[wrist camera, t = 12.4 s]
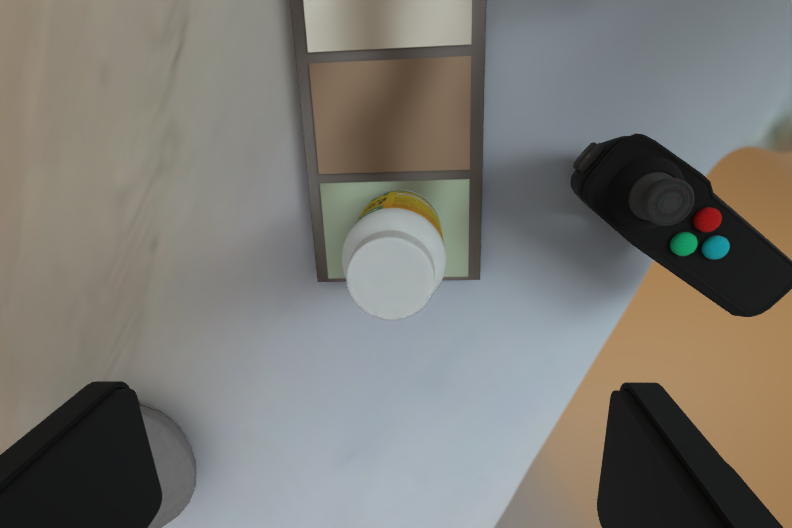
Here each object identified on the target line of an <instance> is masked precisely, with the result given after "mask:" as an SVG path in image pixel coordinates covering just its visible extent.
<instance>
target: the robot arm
mask: <svg viewBox="0 0 792 528" xmlns="http://www.w3.org/2000/svg"><path fill="white" fill-rule="evenodd" d="M161 503H162V489H161V485H160V482H159V478H158V474H157V470H156V467H155V463H154V459H153V455H152V451H151V448H150V444H149V440H148V436H147V432H146V429H145V425H144V421H143V417H142V413H141V410H140V406H139V402H138V398H137V395H136V393H135V391H134V390H132V389H130V388H129V386H128V385H127V384H126V383H124V382H92V383H90V384H88V385H87V386H85V387H84V388H83V389H82V390H80V391H79V392H78V393H77V394H75V395H74V396H73V397H72V398H70V399H69V400H68V401H67V402H66V403H64V404H63V405H62V406H61V407H59V408H58V409H57V410H56V411H54V412H53V413H52V414H51V415H49V416H48V417H47V418H46V419H44V420H43V421H42V422H41V423H40V424H38V425H37V426H36V427H35V428H33V429H32V430H31V431H30V432H28V433H27V434H26V435H25V436H23V437H22V438H21V439H20V440H18V441H17V442H16V443H15V444H14V445H12V446H11V447H10V448H9V449H7V450H6V451H5V452H4V453H2V454H1V455H0V528H148V527H149V525H150V524H151V522H152V521H153V519H154V518H155V516H156V515H157V513H158V511H159V509H160V507H161ZM597 511H598V517H599V520H600V524H601V526H602V528H783V527H782V526H781V524H780V523H779V522H778V521H777V520H776V519H775V517H774V516H773V515H772V514H771V513H770V512H769V510H768V509H767V508H766V507H765V506H764V504H763V503H762V502H761V501H760V500H759V498H758V497H757V496H756V495H755V494H754V493H753V492H752V490H751V489H750V488H749V487H748V486H747V484H746V483H745V482H744V481H743V480H742V478H741V477H740V476H739V475H738V474H737V473H736V471H735V470H734V469H733V468H732V467H730V465H729V464H727V463H726V462H725V461H724V460H723V458H722V457H721V456H720V455H719V454H718V452H717V451H716V450H715V449H714V448H713V447H712V445H711V444H710V443H709V442H708V441H707V439H706V438H705V437H704V436H703V435H702V434H701V432H700V431H699V430H698V429H697V428H696V426H695V425H694V424H693V423H692V422H691V420H690V419H689V418H688V417H687V416H686V414H685V413H684V412H683V411H682V410H681V409H680V408H679V406H678V405H677V404H676V403H675V401H674V400H673V399H672V398H671V397H670V395H669V394H668V393H667V392H666V391H665V390H664V388H663V387H662V386H661V385H659V384H658V383H624V384H622V386H621V388H620V391H613V392H612V394H611V398H610V405H609V413H608V421H607V428H606V437H605V445H604V452H603V460H602V467H601V475H600V483H599V492H598V499H597Z"/></svg>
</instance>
